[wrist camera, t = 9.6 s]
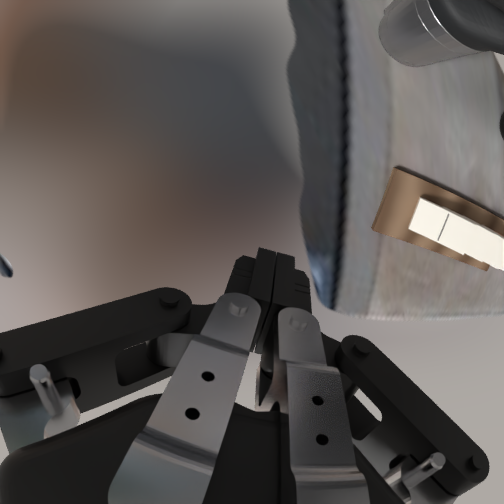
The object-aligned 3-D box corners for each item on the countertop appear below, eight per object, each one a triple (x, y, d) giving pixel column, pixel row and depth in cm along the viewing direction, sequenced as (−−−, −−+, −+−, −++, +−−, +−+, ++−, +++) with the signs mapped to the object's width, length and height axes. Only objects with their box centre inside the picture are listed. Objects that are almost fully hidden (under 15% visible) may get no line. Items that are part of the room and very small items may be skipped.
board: (371, 227, 44) (373, 230, 43) (393, 167, 39) (396, 168, 38) (483, 268, 44) (486, 271, 43) (505, 221, 39) (509, 223, 38)
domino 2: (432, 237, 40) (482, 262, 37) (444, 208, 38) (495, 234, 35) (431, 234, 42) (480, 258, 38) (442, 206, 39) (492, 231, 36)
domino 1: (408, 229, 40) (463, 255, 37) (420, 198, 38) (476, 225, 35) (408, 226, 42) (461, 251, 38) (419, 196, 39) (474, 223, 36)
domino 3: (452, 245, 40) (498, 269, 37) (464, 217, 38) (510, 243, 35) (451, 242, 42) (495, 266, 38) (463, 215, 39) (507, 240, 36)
